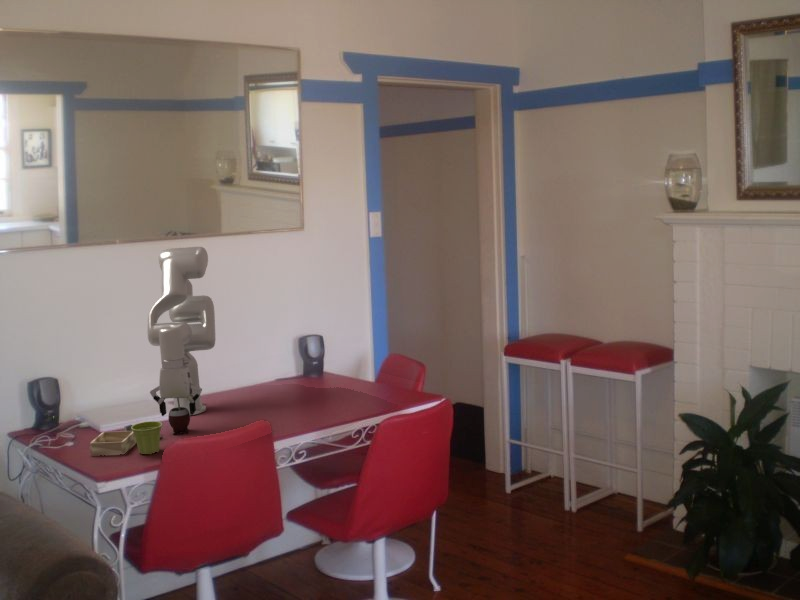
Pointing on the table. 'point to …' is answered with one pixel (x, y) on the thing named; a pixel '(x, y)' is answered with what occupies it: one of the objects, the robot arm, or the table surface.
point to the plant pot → (147, 436)
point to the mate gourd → (179, 419)
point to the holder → (112, 443)
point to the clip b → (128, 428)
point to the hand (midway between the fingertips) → (178, 414)
